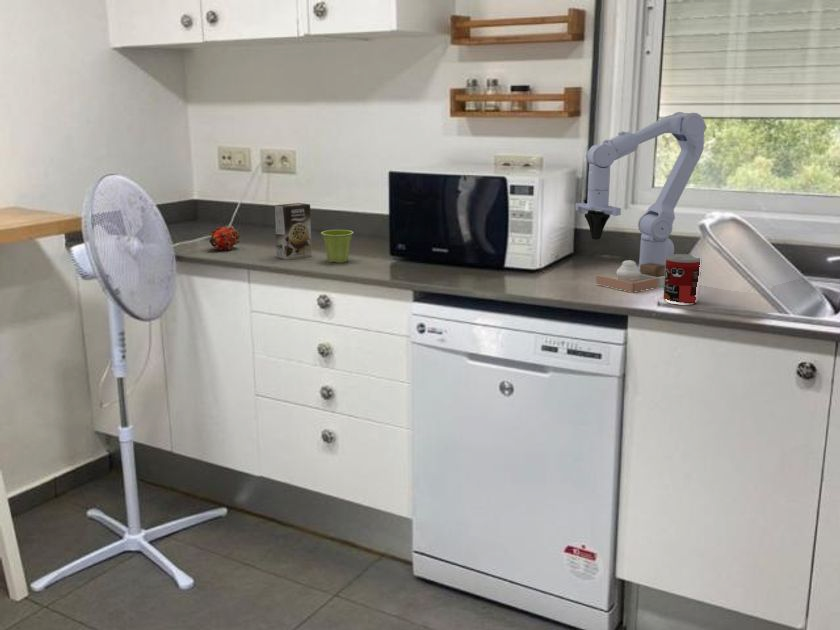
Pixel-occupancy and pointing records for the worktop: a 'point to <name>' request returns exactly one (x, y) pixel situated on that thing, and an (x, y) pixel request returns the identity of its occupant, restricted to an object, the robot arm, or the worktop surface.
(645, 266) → the walnut block
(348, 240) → the plant pot
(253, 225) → the worktop surface
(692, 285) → the canned food
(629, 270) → the muffin
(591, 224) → the robot arm
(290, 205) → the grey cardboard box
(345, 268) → the worktop surface
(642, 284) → the tray
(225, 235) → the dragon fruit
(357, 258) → the worktop surface
